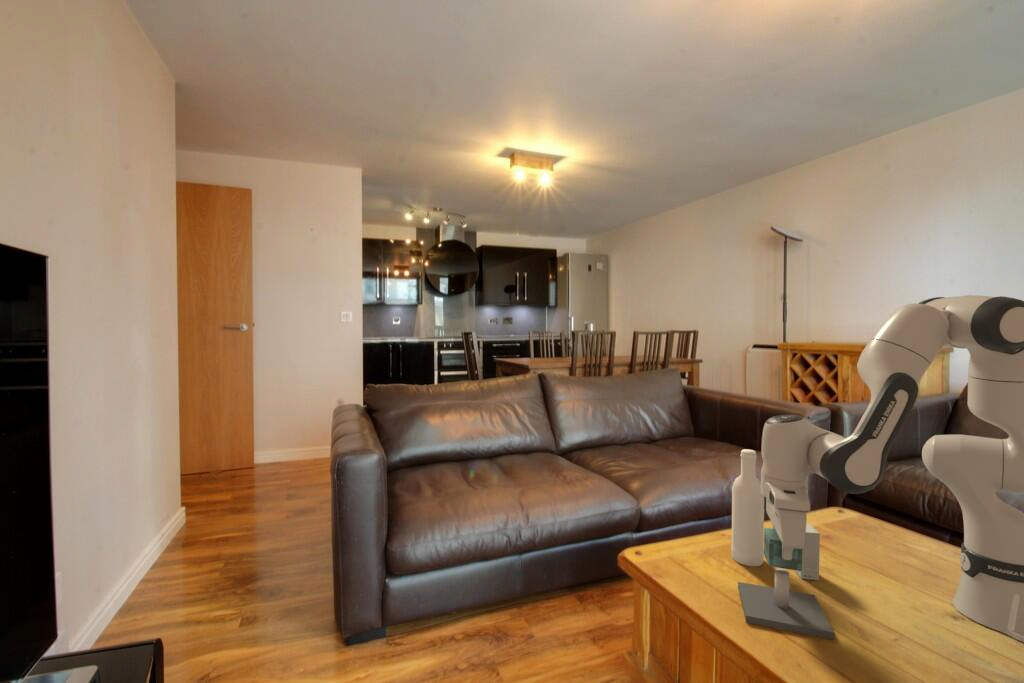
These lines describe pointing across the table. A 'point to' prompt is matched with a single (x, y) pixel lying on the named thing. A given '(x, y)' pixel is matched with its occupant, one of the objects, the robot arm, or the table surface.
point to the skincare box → (810, 555)
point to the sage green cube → (779, 552)
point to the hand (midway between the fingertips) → (782, 550)
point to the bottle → (747, 514)
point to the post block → (784, 608)
